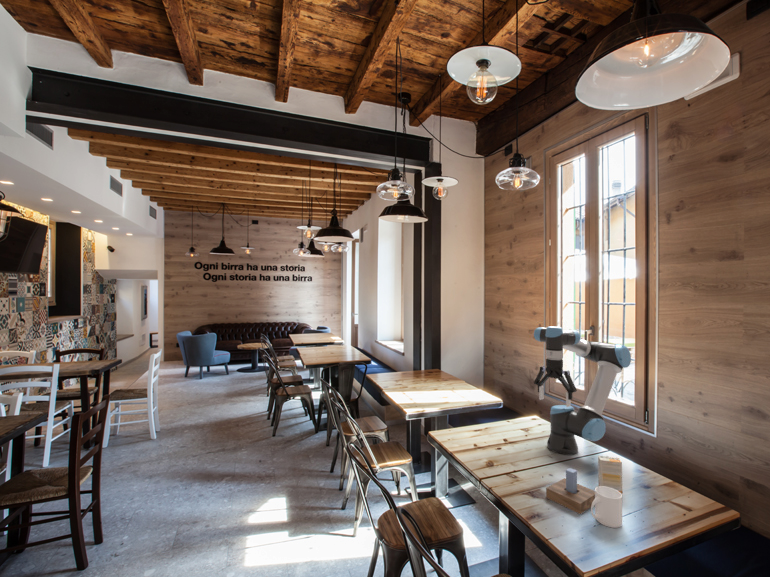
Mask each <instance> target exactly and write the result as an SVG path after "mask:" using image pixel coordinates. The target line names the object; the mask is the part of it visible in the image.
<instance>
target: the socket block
mask: <svg viewBox="0 0 770 577" xmlns="http://www.w3.org/2000/svg"><path fill="white" fill-rule="evenodd" d="M545 496H546V497H545V499H546V498H547V499H549V501H552V502H554V503H557V504H558V505H561V506H563V507H565V508H566V509H569V510H570V511H573V512H575V513H576V514H577V513H578V514H579V515H582V514H583V513H585V512H586V511H588V510H589V509H591V505H592V502H593V500H594V499H595V490H593V489H591V488H588V487H586V486H584V485H582V484H580V483H577V493H576V494H573V493H570V492H568V491H566V477H564V478H562V479H560V480H557V481H556V482H554V483H552V484H551V485H549V486H547V487H546V488H545Z"/></svg>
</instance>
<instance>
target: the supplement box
mask: <svg viewBox="0 0 770 577" xmlns="http://www.w3.org/2000/svg"><path fill="white" fill-rule="evenodd" d="M597 459H598V460H597V464H598V465H597V467H598V468H597V469H598V470H597V471H598V475H597V476H598V477H597V478H598V486H605V487H610V488H613V489H615V490H617V491H619V492H620V493H621V494H623V463H622V461H621V459H620V458H618V457H614V456H613V457H612V456H603V455H598V456H597Z"/></svg>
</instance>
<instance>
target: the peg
mask: <svg viewBox="0 0 770 577" xmlns="http://www.w3.org/2000/svg"><path fill="white" fill-rule="evenodd" d="M565 479H566V491H568V492H570V493H573V494H576V493H577V484H578V470H577V469H575V468H572V467H569V468H567V469H565Z"/></svg>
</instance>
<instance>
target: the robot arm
mask: <svg viewBox="0 0 770 577" xmlns="http://www.w3.org/2000/svg"><path fill="white" fill-rule="evenodd" d="M533 337H534V339H535V341H536V342H540V343H545V357H546V359H545V366H540V367H539V371H538V374H537V375H536V378H535V380H534V381H533V384H535V385H536V386H537V393H538V398H539V401H542V400H544V397H545V395H544V394H545V391H544V385H543V384H545V382H546V381H547V380H548V379H549V378H551V379H555V380H556V379H557V380H558V381H559V382H560V383H561V385H562V386H563V388H564V389H565V390H566V392H565V404H558V405H557V404H556V405H553V406H551V407H550V416H549V418H550V421H549V422H550V434H549V436H548V439H547V443H546V446H547V449H548V450H550V451H551V452H554V453H556V454H561V455H569V456H570V455H576V454H578V452H579V446H578V443H577V440H576V438H575V436H577V437H579V438H582V439H584V440H586V441H591V442H597V441H599V440H601V439H602V438H603V437H604V435H605V433H606V429H607V428H606V426H607V425H606V422H605V421H604V420H605V418H604V416H603V412H604V410H605V406H606V403H607V401H608V399H609V396H610V393H611V390H612V387H613V385H614V382H615V380H616V377H617V375H618V374H619V373H621V372H622V371H623V369H626V368H628V367H630V365H631V360H632V356H631V352H630V350H629V348H628V347H627V346H626V345H623V344H619V343H609V342H600V341H589V340H585V339H581V335H580V333H579V332H578V330H576V329H564V328H563V327H561V326H547V327H544V326H543V327H536V328H535V329H534V331H533ZM563 350H566V351H569V352H572V353H575V354H576V355H577V356H579V357H581V358H584V359H586V360H588V361H591V362H594V363H597V366H598V369H597V371H596V374H595V376H594V379H593V381H592V384H591V387H590V389H589V392H588V394H587V397H586V400H585V402H584V405H582V406H579V408H578V409H577V410H578V411H575V407H574V406H572V405H571V404H572V403H571V400H573V393H576V392H577V391H578V390H577V388H576V386H575V383H574V381H573V379H572V376H571V371H570V370H564V369H563V368H564V360H563V358H564V353H563V352H564V351H563ZM544 373H546V374H545V375H544ZM543 375H544V376H543ZM542 377H543V378H542Z"/></svg>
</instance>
